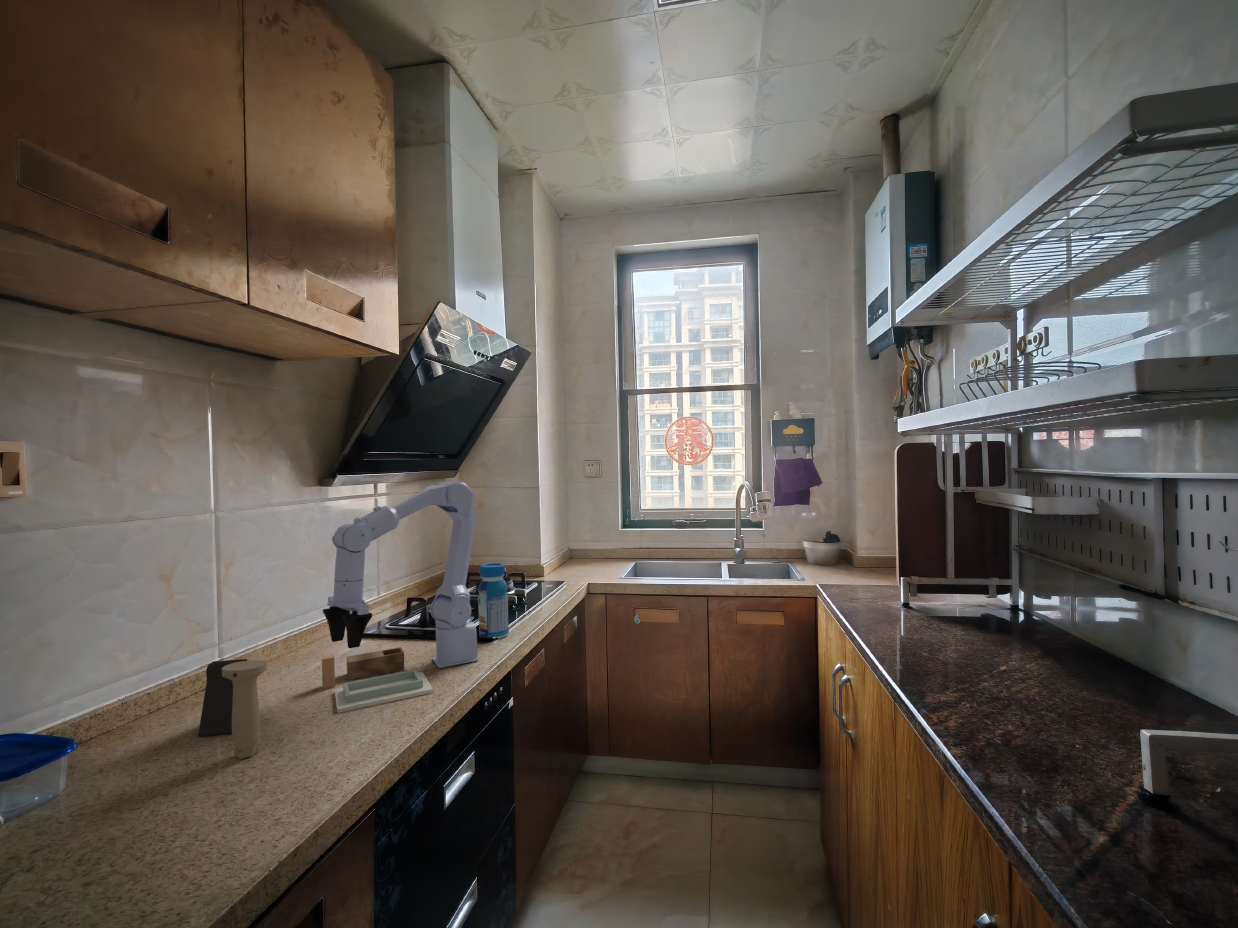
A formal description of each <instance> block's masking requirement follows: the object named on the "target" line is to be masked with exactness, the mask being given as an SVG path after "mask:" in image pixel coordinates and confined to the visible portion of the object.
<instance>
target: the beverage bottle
mask: <svg viewBox="0 0 1238 928" xmlns="http://www.w3.org/2000/svg"><path fill="white" fill-rule="evenodd" d="M479 576H480V578H481V581H480V582H479V585H478V588H477V593H478V597H477V603H478V604H477V605H478V607H477V608H478V626H479V627H478V629H479V631H478V634H479V635H480V636H487V637H497V638H498V639H502V638H505V637H507V636H508V635H509V633H510V631H509V629H510V628H509V595H508V593H507V591H508V584H507V583H506V581H505V579H504V578H503V577H504V576H505V565H504V564H503V563H499V562H495V563H494V562H493V563H492V562H491V563H485V564H481V565H480V566H479ZM480 636H479V637H480ZM498 639H497V640H498Z"/></svg>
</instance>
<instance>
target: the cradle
mask: <svg viewBox="0 0 1238 928" xmlns="http://www.w3.org/2000/svg"><path fill="white" fill-rule="evenodd" d="M342 685H343V686H342V687H338V688H334V696H335V697H334V698H335V705H336V710H337V711H336V712H337V714H340V713H344V712H345V713H346V712H349V711H355V710H359V709H364V708H368V707H373V706H377V705H382V704H386V703H390V702H396V700H397V701H399V700H400V699H401V700H405V699H409V698H410V699H411V698H414V697H419V696H423V695H428V694H434V691H433V690H434V689H433V687H432V686H431V683H430V682H429V680H428V679H427V677H426V675H425V674H424V672H423V671H421V672H420V671H418V669H417V668H416V669H411V670H404V671H400V672H395V673H388V674H386V675H385V674H384V675H379V676H374V677H368V678H364V679H359V680H352V681H350V682H344V683H343V684H342Z"/></svg>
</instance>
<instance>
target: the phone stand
mask: <svg viewBox="0 0 1238 928" xmlns="http://www.w3.org/2000/svg"><path fill="white" fill-rule="evenodd" d="M241 661H249V659H248V658H242V659H240V658H239V659H229V660H218V661H217V660H215V661H211V662H210V663H208V664H207V666H206V671H205V673H206V674H205V675H206V683H205V688H204V689H205V690H204V696H203V702H202V708H201V709H202V710H201V713H200V721H199V727H198V733H197V736H198V737H199V738H200V737H210V736H221V735H230V734H231V735H232V705H233V682H232V680H230V679H228V678H225V677H223V676H222V668H223V667H224V666H226V665H229V664H232V663H235V662H241Z"/></svg>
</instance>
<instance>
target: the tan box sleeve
mask: <svg viewBox="0 0 1238 928" xmlns="http://www.w3.org/2000/svg"><path fill="white" fill-rule="evenodd" d="M403 670H404V671H405V652H404V651H403V648H402V647H401V646H399V647H393V648H388V649H387V648H386V649H383V650H376V651H371V652H366V653H359V654H353V655H348V656H346V675H347V680H348V681H354V680H357V679H356V678H358V679H362V677H363V678H367V677H366V676H368V677H373V675H374V676H377V675H378V674H379V675H382V674H383V673H384V674H390V673H393V672H399V671H400V672H401V671H403Z"/></svg>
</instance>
